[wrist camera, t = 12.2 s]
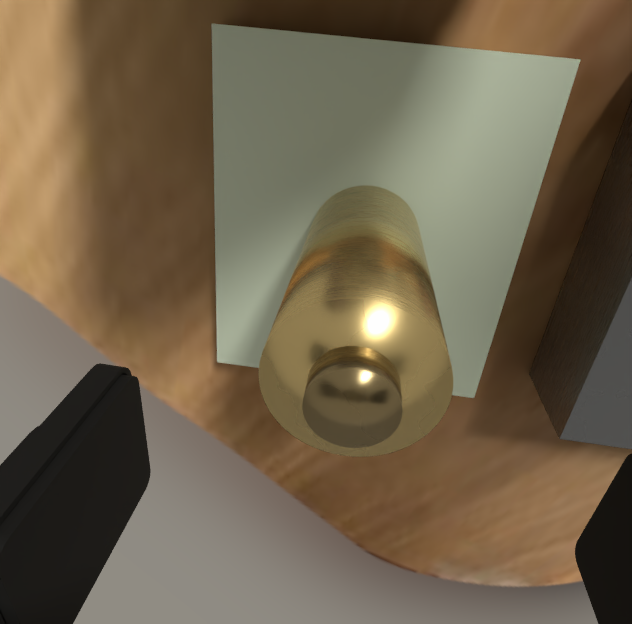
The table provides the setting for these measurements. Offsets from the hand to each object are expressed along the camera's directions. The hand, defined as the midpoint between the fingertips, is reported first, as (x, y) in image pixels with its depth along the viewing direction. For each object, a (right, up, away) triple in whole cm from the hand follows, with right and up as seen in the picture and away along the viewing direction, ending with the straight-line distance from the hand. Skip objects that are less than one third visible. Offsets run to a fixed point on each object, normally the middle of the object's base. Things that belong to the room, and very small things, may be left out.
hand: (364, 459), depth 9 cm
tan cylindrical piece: (+1, +6, +13) cm, 14 cm away
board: (+1, +7, +14) cm, 16 cm away
